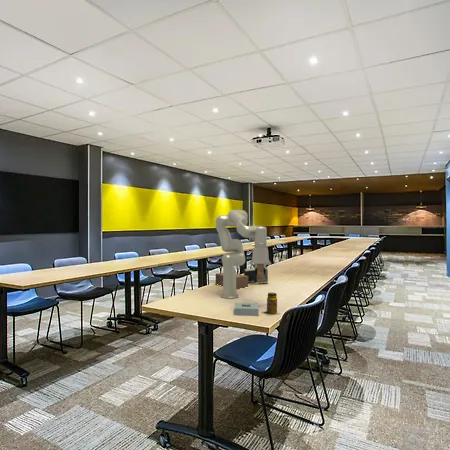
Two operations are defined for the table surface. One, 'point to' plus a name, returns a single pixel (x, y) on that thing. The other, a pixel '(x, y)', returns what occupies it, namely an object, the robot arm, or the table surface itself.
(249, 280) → the radio
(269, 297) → the condiment
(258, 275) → the peg
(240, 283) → the tissue box cover
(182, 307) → the table surface
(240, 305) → the socket block
